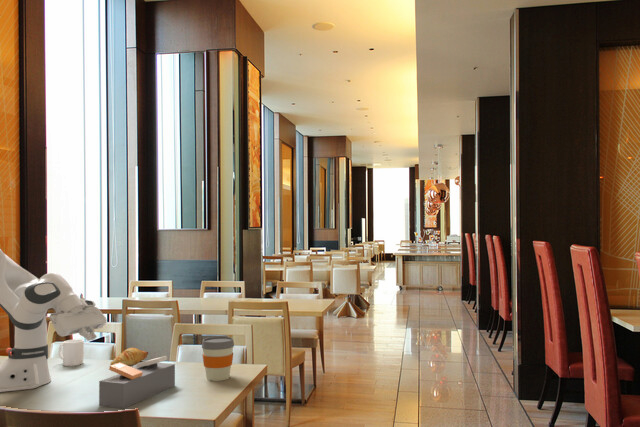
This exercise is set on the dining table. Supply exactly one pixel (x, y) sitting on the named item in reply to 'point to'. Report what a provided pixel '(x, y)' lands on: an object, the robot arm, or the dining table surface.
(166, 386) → the block
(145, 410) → the dining table surface
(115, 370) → the rocker orange
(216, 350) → the reusable coffee cup
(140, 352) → the croissant
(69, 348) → the cup
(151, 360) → the rocker grey
